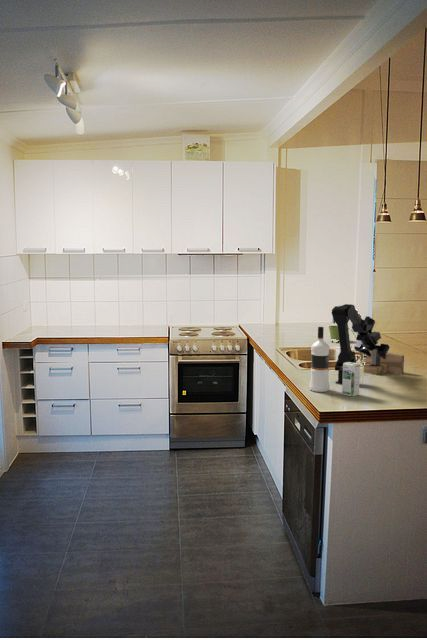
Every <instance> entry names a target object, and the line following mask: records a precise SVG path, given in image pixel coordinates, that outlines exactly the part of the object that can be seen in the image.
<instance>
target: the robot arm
mask: <svg viewBox="0 0 427 640" xmlns="http://www.w3.org/2000/svg"><path fill="white" fill-rule="evenodd" d="M331 315H332V319H333V322H334V323H335V324H336V326H338V334H339V342H340V343H339V350H340V351H339V354H338V356H337V360H336V363H335V365H334V371H338V373H337V381H335V382H334V383H335V384H339V385H342V382H343V363H346V362H351V363H357V357H356V352H358V353H360V354H363V355H365V356H366V355H367V356H369V357H371V354H370V352H369V351H373V350H374V349H375V350H377V353H378V354H379V356H380V357H382V358H383V359H386V353H387V352H388V351H389V350H390V346H389V344H387V343H380V345H379V344H378V343H379V340H380V339H382V335H381V333H380V332H379V331H373V330H374V327H375V324H376V320H375V319H374V318H372V317H371V316H365V318H364V319H363V318H362V317H361V316H360V314H359V313H358V311H357V309H356V306H355V304H347V303H345V304H343V305H335V306H334V307H333V308H332V309H331ZM349 321H350V322H351V329H352V332H353V333H357V335H356V339H355V340H356V343H355V345H354V350H355V351H354V350H352V349H351V342H350V341H351V340H350V333H349V331H350V330H349ZM388 353H389V352H388Z"/></svg>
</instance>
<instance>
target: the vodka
mask: <svg viewBox="0 0 427 640" xmlns="http://www.w3.org/2000/svg"><path fill="white" fill-rule="evenodd" d="M310 348H311V350H310V351H311V352H310V354H311V355H310V356H311V358H310V359H311V361H310V362H311V363H310V382H309V385H308V386H309V390H310V391H311V390H312V391H311V392H314V391H315V392H314V393H327V392H328V391H330V381H329V374H330V373H329V372H330V368H329V365H330V345H329V344H328V343H327V342H326V341H324V326H318V327H317V341H315V342H313V343H312V345H311V347H310Z"/></svg>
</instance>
